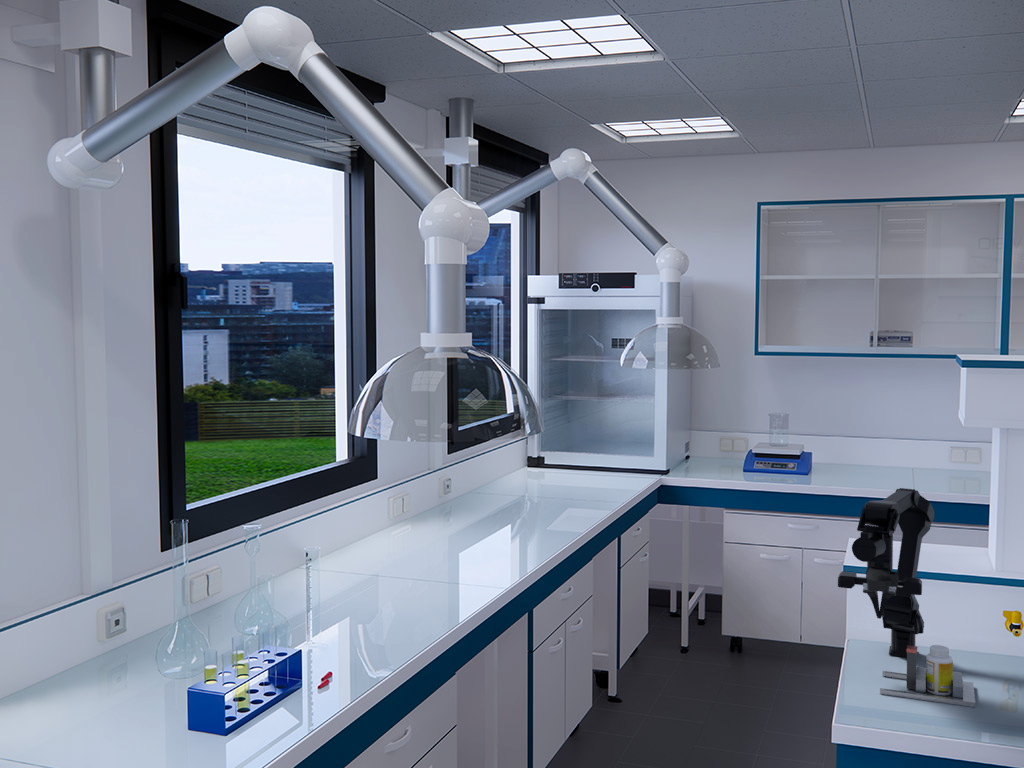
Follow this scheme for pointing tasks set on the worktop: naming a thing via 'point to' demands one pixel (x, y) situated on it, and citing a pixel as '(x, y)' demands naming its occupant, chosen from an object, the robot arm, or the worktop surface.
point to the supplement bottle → (939, 671)
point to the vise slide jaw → (915, 672)
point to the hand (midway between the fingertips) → (879, 618)
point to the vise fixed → (961, 696)
